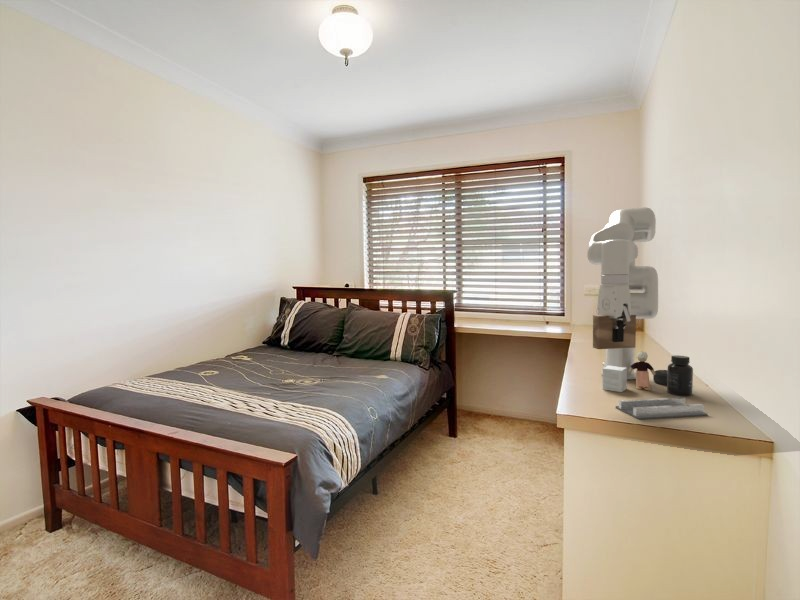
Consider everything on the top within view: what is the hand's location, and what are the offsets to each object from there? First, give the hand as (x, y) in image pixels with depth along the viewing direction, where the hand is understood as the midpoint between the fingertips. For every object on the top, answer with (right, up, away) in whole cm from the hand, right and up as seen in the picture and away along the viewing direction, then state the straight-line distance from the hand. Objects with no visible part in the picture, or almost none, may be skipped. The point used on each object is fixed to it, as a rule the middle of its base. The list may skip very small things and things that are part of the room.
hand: (614, 340), depth 125 cm
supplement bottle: (+25, -18, +7) cm, 31 cm away
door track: (+8, -19, -10) cm, 23 cm away
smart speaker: (+29, -17, +19) cm, 39 cm away
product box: (+7, -18, +13) cm, 23 cm away
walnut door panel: (0, -2, 0) cm, 2 cm away
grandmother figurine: (+16, -18, +13) cm, 27 cm away
